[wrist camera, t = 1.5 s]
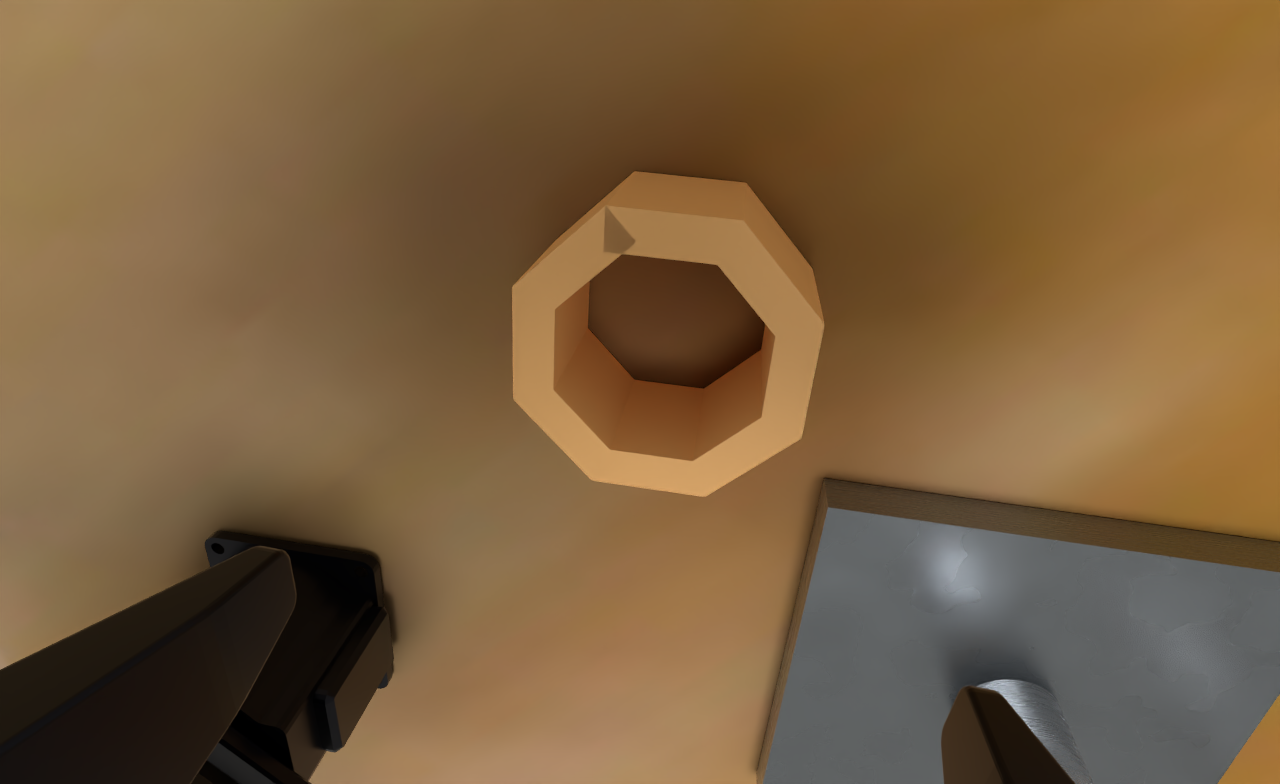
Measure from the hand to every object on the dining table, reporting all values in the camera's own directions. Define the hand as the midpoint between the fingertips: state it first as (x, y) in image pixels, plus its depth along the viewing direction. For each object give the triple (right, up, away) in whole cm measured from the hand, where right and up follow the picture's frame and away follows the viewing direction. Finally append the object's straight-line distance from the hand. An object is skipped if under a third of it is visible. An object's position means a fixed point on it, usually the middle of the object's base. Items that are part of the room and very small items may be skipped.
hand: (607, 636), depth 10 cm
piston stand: (+12, -7, +15) cm, 21 cm away
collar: (+1, +6, +11) cm, 12 cm away
